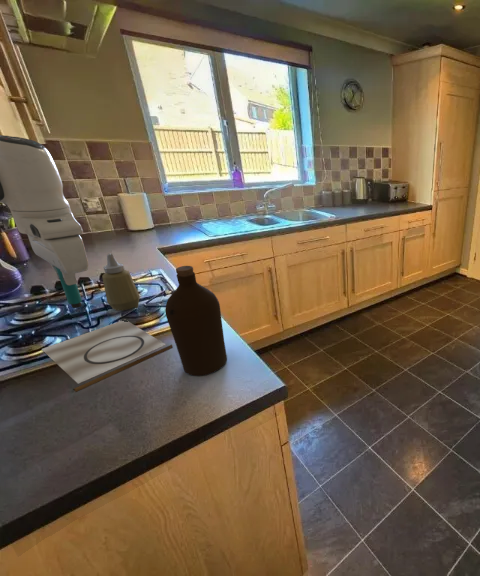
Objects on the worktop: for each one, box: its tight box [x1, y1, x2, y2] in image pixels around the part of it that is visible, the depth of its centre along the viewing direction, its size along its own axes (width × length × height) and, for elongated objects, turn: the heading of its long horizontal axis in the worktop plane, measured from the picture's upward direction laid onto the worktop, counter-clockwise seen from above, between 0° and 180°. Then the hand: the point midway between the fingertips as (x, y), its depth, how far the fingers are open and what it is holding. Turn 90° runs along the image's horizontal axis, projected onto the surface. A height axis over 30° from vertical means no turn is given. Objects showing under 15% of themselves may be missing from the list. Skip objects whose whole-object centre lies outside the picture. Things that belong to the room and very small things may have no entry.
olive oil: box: [165, 265, 228, 377], centre depth 74 cm, size 11×11×25 cm
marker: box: [56, 267, 83, 309], centre depth 74 cm, size 2×2×12 cm
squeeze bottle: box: [101, 252, 141, 312], centre depth 99 cm, size 8×8×18 cm
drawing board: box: [41, 320, 174, 393], centre depth 83 cm, size 24×20×1 cm
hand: (67, 281), depth 74 cm, fingers closed on marker, 2 cm apart
